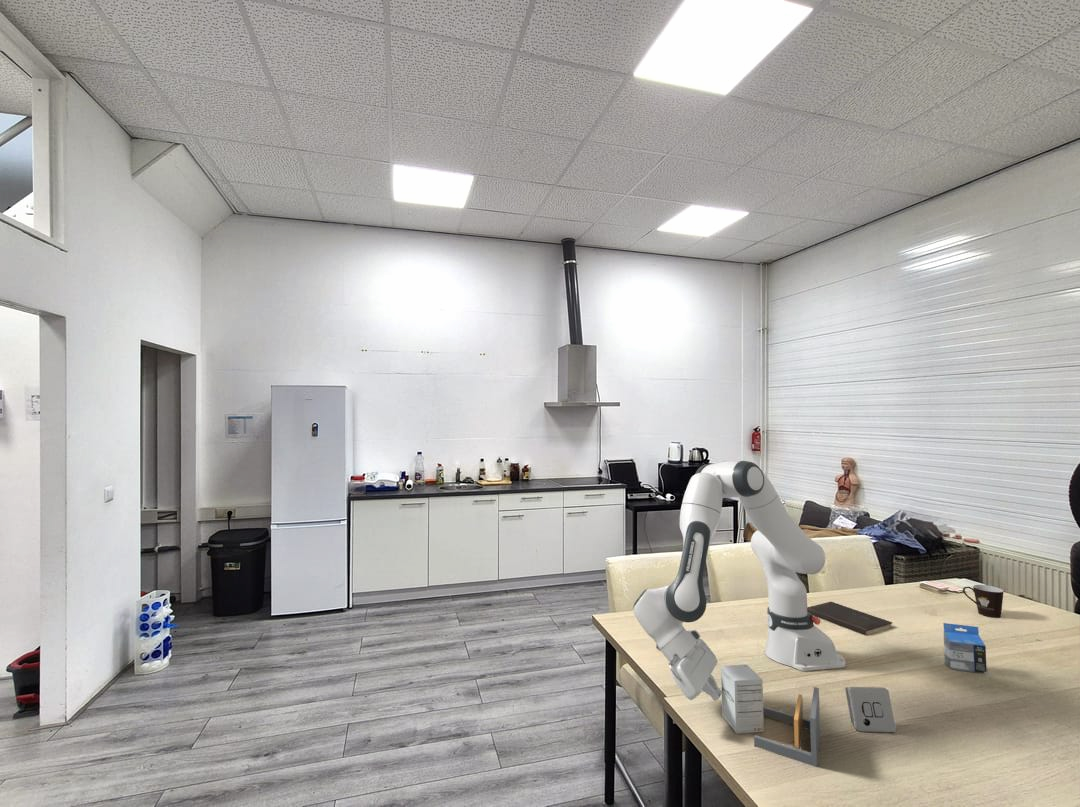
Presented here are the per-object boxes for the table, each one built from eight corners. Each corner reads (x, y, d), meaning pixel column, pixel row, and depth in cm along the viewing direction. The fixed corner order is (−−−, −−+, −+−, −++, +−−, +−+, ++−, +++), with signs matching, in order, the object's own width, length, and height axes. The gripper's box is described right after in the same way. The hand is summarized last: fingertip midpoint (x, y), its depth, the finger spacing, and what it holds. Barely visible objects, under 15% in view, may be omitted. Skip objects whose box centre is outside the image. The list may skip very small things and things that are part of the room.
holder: (754, 746, 109) (753, 701, 110) (763, 713, 122) (762, 673, 122) (816, 766, 103) (815, 719, 103) (820, 730, 115) (818, 688, 115)
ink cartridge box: (950, 669, 143) (948, 627, 143) (944, 663, 146) (942, 622, 147) (987, 674, 140) (985, 631, 140) (980, 668, 143) (978, 626, 144)
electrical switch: (856, 732, 114) (853, 690, 115) (844, 721, 119) (841, 681, 121) (897, 733, 114) (893, 692, 115) (883, 722, 119) (879, 682, 120)
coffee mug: (1011, 619, 179) (1010, 592, 179) (988, 619, 179) (987, 592, 179) (983, 607, 190) (982, 582, 191) (961, 607, 191) (960, 582, 191)
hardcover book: (831, 607, 194) (830, 601, 194) (892, 628, 173) (892, 622, 173) (804, 613, 187) (804, 607, 187) (865, 637, 166) (865, 630, 166)
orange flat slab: (794, 751, 106) (793, 719, 107) (799, 723, 116) (798, 693, 116) (798, 752, 106) (797, 720, 106) (803, 724, 116) (802, 694, 116)
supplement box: (721, 715, 121) (719, 665, 122) (749, 714, 122) (747, 663, 122) (735, 734, 114) (734, 680, 114) (765, 732, 114) (763, 678, 115)
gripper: (675, 658, 117) (718, 711, 111) (698, 628, 134) (735, 673, 128) (658, 671, 119) (699, 724, 113) (682, 640, 136) (719, 685, 130)
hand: (718, 697), depth 121 cm, fingers closed
